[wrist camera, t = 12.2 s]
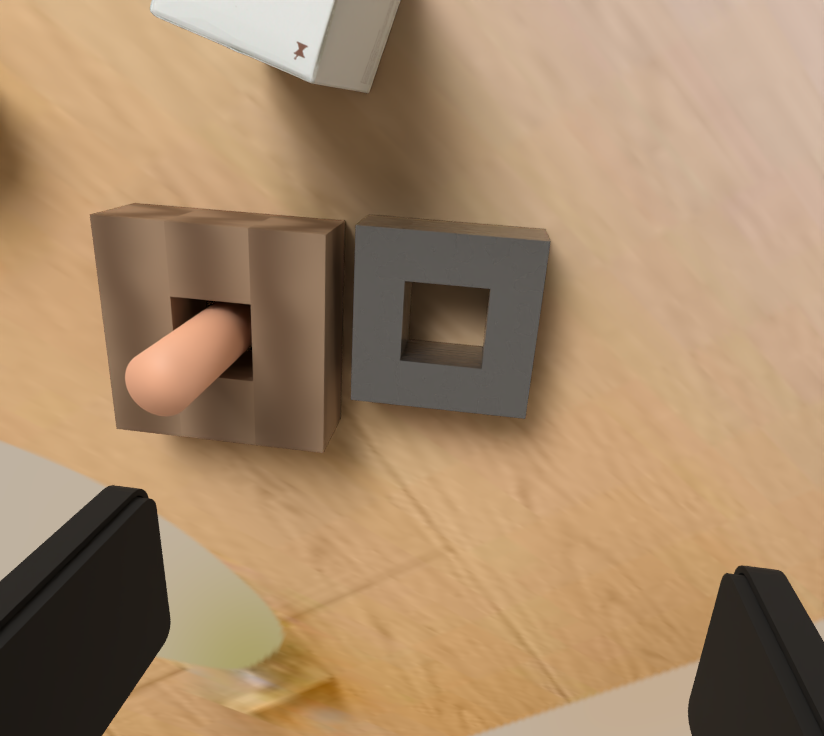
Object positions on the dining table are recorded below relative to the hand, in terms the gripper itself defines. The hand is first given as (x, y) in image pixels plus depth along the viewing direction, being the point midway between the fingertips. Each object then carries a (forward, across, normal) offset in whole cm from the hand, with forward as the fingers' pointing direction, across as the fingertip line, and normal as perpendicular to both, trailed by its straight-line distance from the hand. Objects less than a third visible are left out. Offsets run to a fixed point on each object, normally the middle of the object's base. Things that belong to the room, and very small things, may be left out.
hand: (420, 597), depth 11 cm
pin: (+32, +16, +6) cm, 36 cm away
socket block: (+32, +17, +6) cm, 36 cm away
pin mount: (+32, +3, +4) cm, 32 cm away
